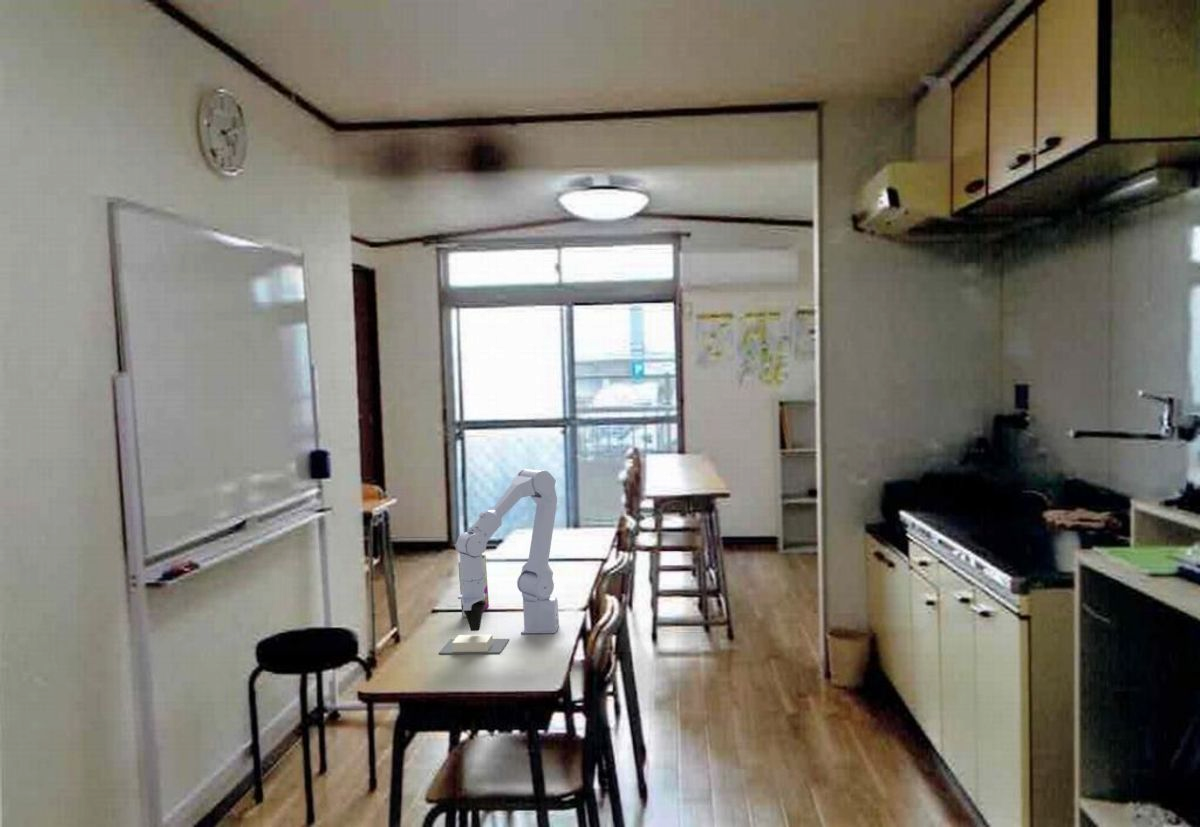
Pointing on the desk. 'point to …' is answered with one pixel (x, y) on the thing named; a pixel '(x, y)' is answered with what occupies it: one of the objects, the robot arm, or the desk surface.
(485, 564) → the candy bar box
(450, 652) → the mat
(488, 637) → the block
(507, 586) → the desk surface
